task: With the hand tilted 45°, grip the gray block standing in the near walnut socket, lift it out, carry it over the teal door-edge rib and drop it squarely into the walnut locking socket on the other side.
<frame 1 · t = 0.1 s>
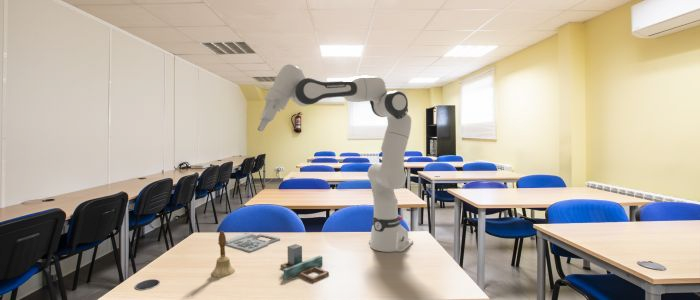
hand: (259, 130, 130), 54 cm above the table, tool tilted 30°, fingers open, 8 cm apart
hand bell: (223, 272, 124), on the table
office telephone: (250, 243, 159), on the table
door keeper: (304, 271, 124), on the table
gray block: (294, 267, 128), resting in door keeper
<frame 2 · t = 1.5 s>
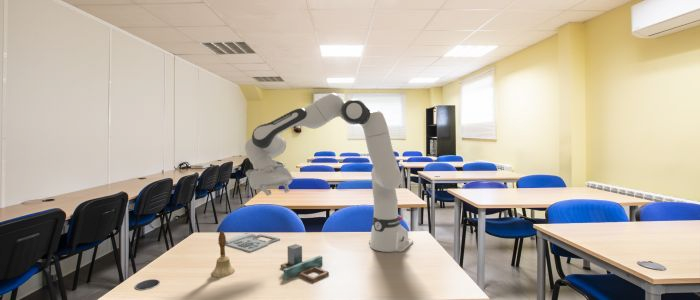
hand: (278, 193, 138), 28 cm above the table, tool tilted 45°, fingers open, 8 cm apart
nothing on the table moved.
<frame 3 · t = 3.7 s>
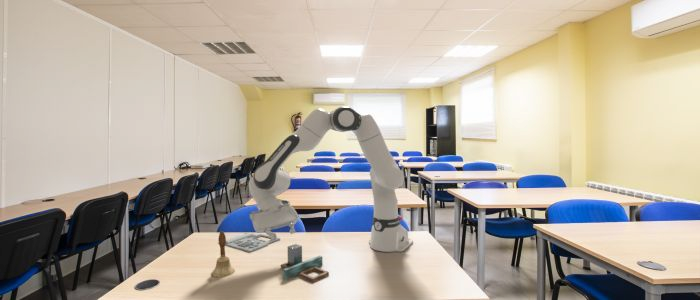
hand: (284, 235, 132), 11 cm above the table, tool tilted 45°, fingers open, 8 cm apart
nothing on the table moved.
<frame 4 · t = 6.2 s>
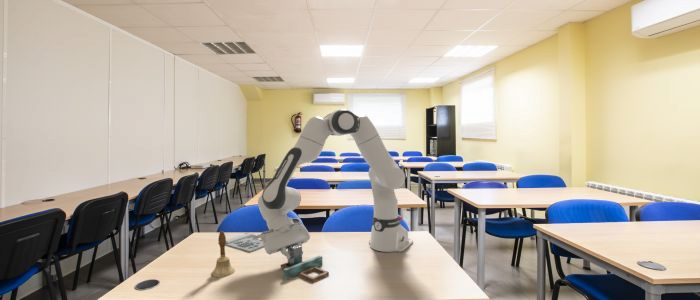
hand: (295, 256, 127), 5 cm above the table, tool tilted 45°, fingers closed on gray block, 4 cm apart
gray block: (294, 267, 128), resting in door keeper, touching gripper
everything else where it was.
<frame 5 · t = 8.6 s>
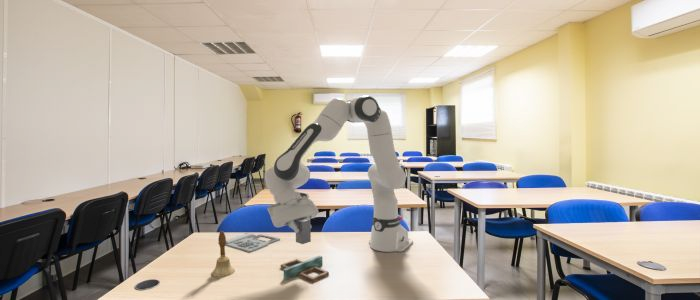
hand: (304, 230, 124), 16 cm above the table, tool tilted 45°, fingers closed on gray block, 4 cm apart
gray block: (303, 241, 124), point 11 cm above the table, touching gripper
everything else where it was.
when the fingers open (6 cm above the table, at t = 11.4 s): gray block drops 1 cm, resting in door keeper.
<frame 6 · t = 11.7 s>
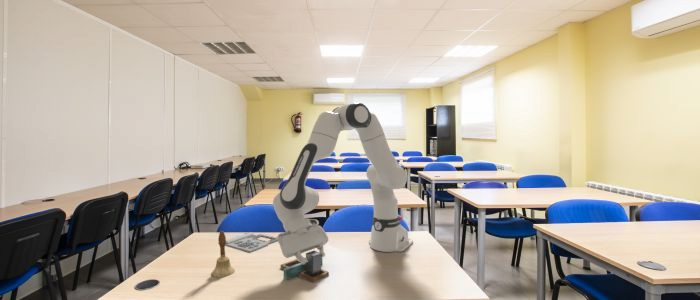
hand: (314, 260, 120), 6 cm above the table, tool tilted 45°, fingers open, 7 cm apart
gray block: (313, 275, 121), resting in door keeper
everything else where it was.
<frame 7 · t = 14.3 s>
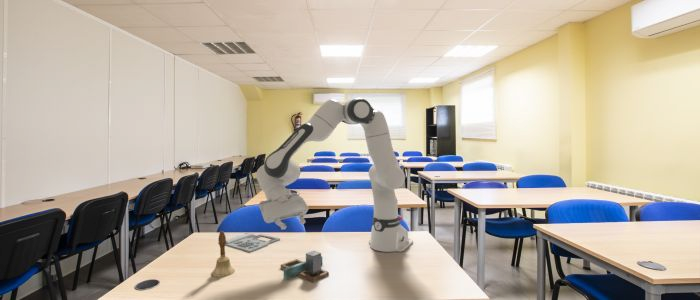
hand: (294, 225, 128), 16 cm above the table, tool tilted 45°, fingers open, 8 cm apart
nothing on the table moved.
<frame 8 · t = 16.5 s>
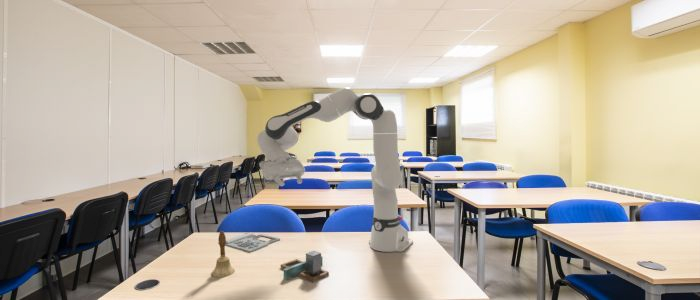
hand: (291, 184, 138), 31 cm above the table, tool tilted 45°, fingers open, 8 cm apart
nothing on the table moved.
at the end: gray block 0.0 cm from the target spot, resting in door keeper; gray block tilted 0° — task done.
